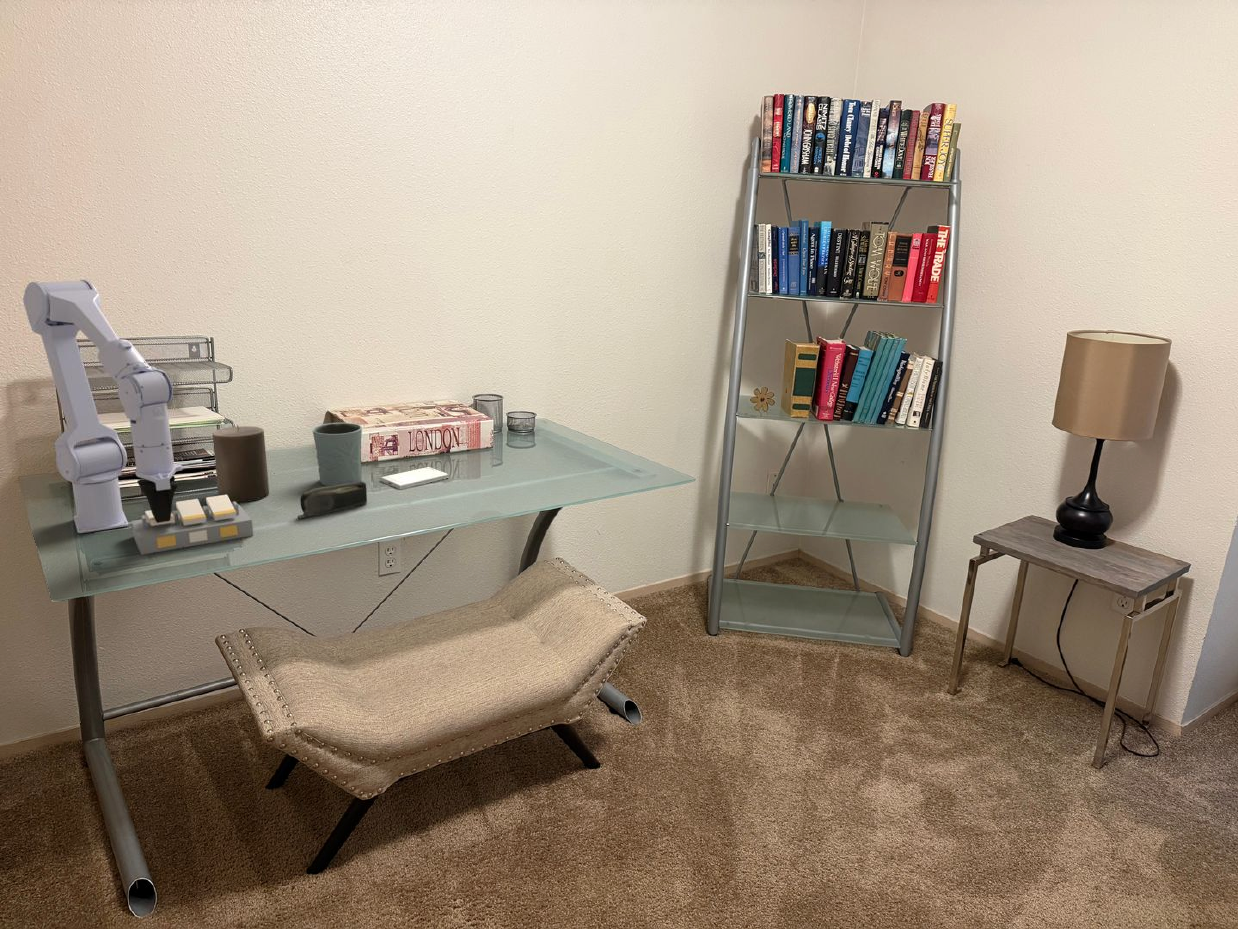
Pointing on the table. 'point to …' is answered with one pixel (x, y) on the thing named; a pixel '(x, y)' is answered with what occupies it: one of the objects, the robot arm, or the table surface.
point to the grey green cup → (338, 453)
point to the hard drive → (414, 477)
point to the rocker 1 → (153, 521)
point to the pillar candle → (241, 463)
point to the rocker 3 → (221, 507)
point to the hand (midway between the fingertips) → (162, 520)
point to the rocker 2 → (190, 512)
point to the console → (190, 531)
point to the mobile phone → (333, 498)
